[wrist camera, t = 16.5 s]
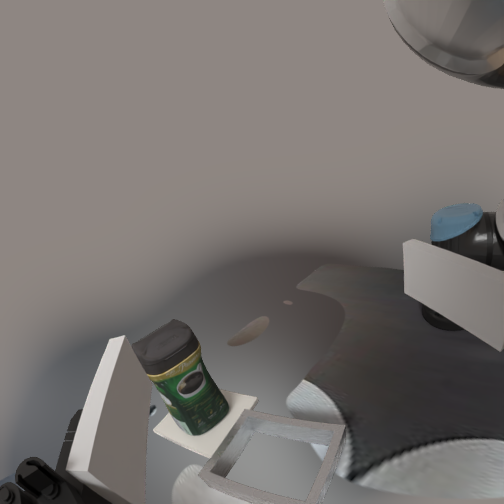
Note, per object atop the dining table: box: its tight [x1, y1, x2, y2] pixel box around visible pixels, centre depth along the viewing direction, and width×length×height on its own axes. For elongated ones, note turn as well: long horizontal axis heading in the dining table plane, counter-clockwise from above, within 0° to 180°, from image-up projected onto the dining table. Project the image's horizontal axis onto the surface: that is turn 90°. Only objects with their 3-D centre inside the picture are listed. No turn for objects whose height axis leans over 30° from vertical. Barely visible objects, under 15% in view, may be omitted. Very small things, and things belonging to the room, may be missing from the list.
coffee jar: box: [132, 319, 229, 436], centre depth 38 cm, size 10×8×19 cm
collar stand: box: [198, 409, 346, 504], centre depth 28 cm, size 13×15×4 cm
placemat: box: [153, 389, 259, 458], centre depth 41 cm, size 14×14×1 cm
